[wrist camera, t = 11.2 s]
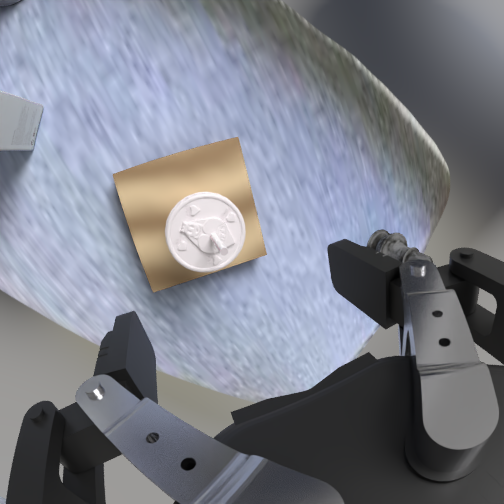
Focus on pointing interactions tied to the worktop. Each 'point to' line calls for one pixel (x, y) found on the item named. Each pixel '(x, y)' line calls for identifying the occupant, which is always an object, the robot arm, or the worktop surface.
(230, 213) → the smoothie
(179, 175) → the tan wavy panel
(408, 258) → the salt shaker
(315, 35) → the worktop surface
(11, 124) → the skincare box
